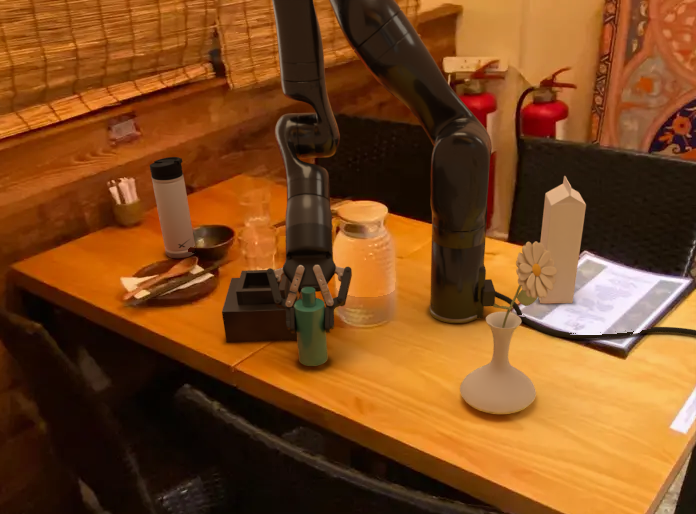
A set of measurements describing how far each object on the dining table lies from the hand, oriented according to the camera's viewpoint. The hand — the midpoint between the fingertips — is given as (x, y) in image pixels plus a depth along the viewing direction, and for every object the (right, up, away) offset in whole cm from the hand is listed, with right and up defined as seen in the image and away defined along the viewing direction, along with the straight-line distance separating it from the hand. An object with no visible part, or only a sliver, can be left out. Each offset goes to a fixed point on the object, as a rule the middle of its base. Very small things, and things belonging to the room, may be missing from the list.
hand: (310, 331), depth 123 cm
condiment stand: (-9, +3, +17) cm, 19 cm away
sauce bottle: (0, -4, +5) cm, 6 cm away
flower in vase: (+30, -11, -4) cm, 32 cm away
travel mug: (-31, +21, +43) cm, 57 cm away
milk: (+44, +9, +23) cm, 50 cm away
